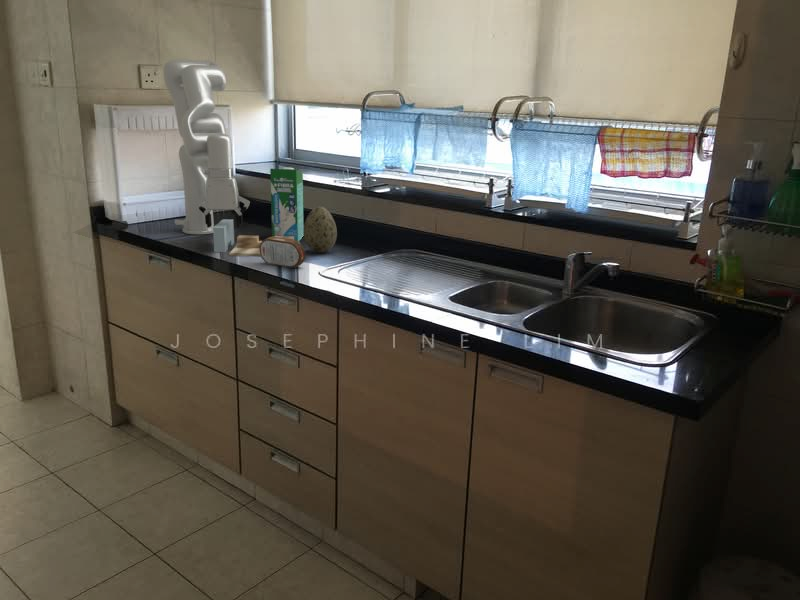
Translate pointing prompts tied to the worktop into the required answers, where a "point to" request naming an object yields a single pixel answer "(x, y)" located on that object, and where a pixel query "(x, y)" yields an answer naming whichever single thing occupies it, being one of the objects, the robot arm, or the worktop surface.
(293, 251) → the tin
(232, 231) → the pale blue notched block
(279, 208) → the milk carton
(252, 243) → the straw hat
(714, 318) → the worktop surface
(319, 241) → the decorative egg
